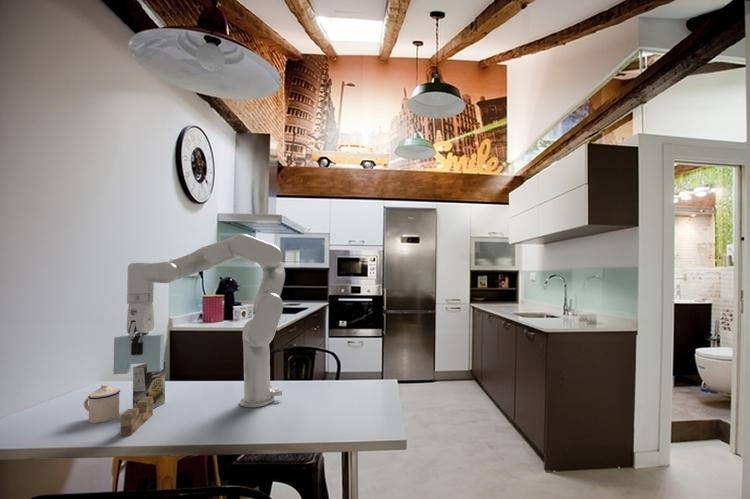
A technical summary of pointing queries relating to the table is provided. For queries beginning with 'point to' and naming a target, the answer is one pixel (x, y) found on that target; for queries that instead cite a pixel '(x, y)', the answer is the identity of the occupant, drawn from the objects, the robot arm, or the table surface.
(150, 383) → the coffee box
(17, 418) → the table surface
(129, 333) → the robot arm
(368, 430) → the table surface
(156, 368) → the light blue arch block
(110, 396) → the teacup with lid
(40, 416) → the table surface
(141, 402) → the notched walnut block
